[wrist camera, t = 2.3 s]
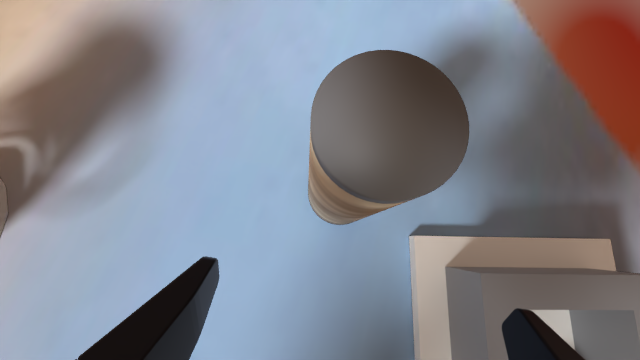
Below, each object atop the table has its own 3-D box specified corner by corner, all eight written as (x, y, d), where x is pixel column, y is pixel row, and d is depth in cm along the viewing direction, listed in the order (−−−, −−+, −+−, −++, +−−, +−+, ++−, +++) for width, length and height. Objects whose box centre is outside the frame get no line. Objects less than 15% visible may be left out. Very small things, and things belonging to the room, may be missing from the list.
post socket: (419, 467, 18) (463, 554, 13) (409, 235, 21) (441, 234, 16) (636, 463, 18) (756, 545, 13) (596, 239, 21) (683, 238, 16)
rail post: (307, 224, 20) (308, 198, 8) (308, 161, 21) (312, 46, 9) (371, 225, 21) (476, 201, 8) (370, 163, 22) (462, 53, 9)
